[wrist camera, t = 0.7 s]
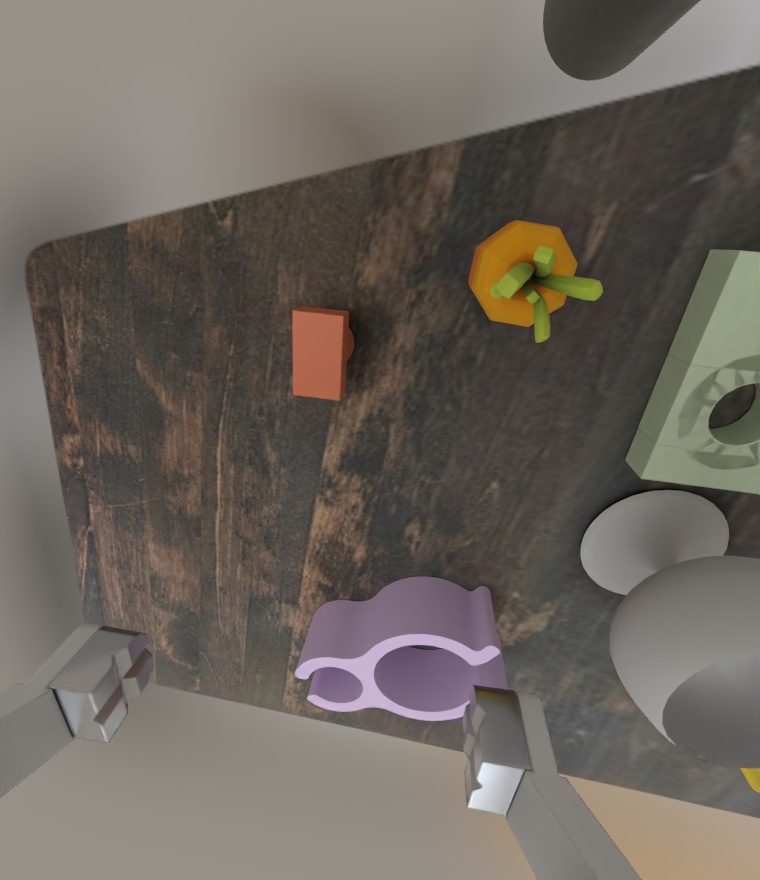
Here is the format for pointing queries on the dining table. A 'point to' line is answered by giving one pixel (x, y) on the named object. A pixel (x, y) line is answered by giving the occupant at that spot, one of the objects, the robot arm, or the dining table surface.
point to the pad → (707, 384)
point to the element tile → (752, 777)
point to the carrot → (527, 275)
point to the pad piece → (320, 352)
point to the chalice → (683, 621)
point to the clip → (404, 650)
